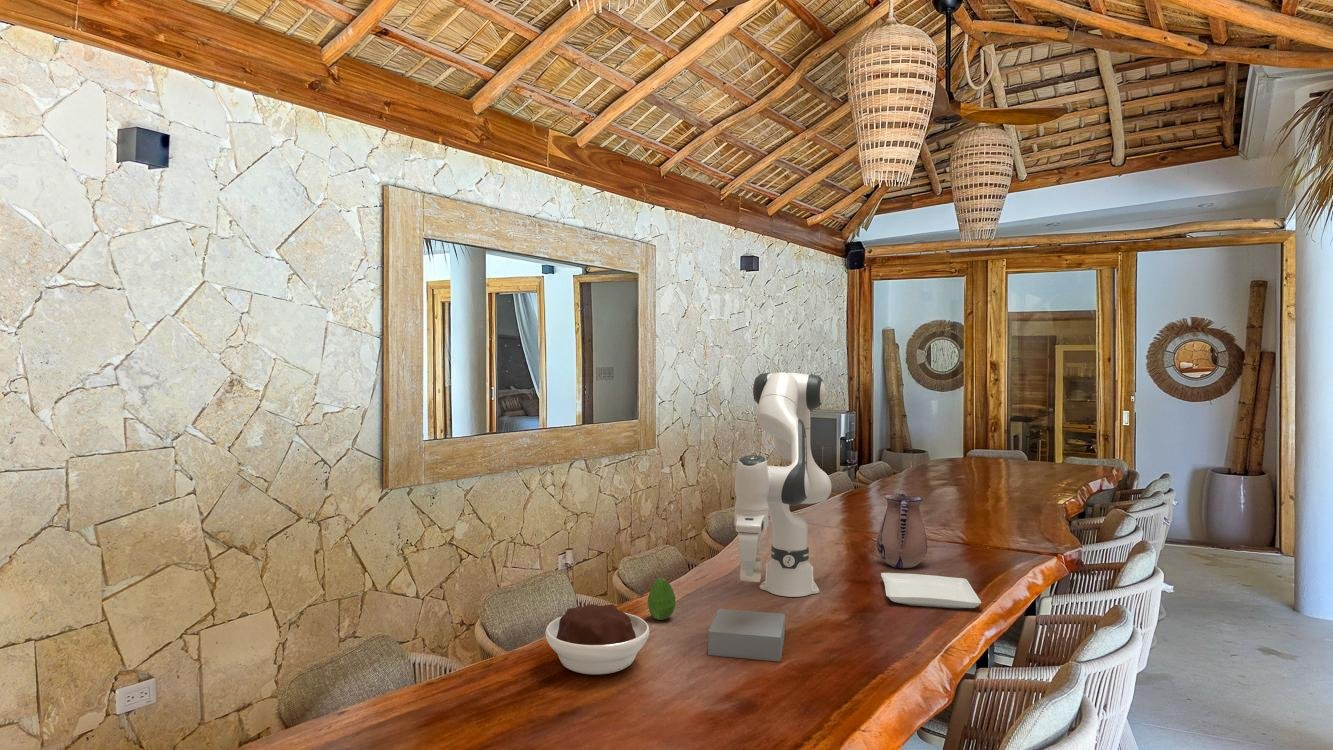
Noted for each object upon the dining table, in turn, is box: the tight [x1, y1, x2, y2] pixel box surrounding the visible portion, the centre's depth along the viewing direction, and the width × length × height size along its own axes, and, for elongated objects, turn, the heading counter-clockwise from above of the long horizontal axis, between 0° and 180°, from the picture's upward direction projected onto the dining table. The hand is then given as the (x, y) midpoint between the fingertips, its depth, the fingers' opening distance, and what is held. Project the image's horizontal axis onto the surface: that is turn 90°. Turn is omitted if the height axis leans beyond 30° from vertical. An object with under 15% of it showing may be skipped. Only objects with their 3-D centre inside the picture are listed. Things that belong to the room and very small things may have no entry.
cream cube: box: [739, 556, 763, 583], centre depth 204 cm, size 5×5×5 cm
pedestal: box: [707, 608, 786, 662], centre depth 205 cm, size 18×18×6 cm
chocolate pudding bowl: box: [545, 604, 650, 676], centre depth 190 cm, size 25×25×15 cm
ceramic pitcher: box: [876, 493, 928, 569], centre depth 282 cm, size 18×21×25 cm
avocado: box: [647, 577, 676, 621], centre depth 224 cm, size 8×8×12 cm
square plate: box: [880, 572, 982, 609], centre depth 248 cm, size 27×27×4 cm
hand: (750, 572), depth 204 cm, fingers closed on cream cube, 5 cm apart
